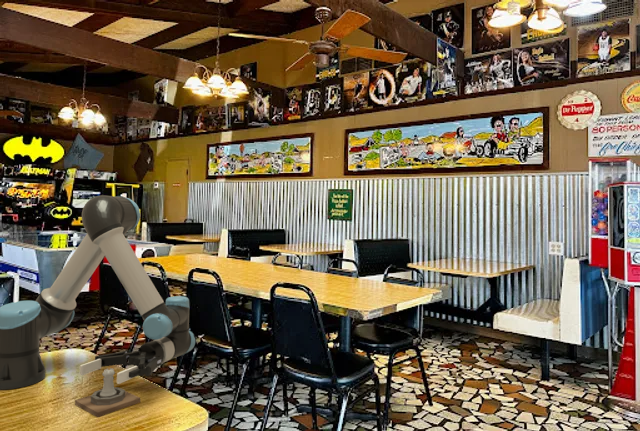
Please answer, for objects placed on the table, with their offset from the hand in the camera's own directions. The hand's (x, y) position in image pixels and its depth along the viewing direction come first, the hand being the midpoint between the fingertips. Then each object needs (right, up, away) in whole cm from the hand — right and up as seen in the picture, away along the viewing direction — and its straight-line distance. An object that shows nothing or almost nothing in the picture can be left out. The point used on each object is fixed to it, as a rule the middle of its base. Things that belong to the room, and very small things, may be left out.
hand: (98, 374), depth 121 cm
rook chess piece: (+1, -8, +3) cm, 9 cm away
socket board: (+1, -9, +3) cm, 10 cm away
